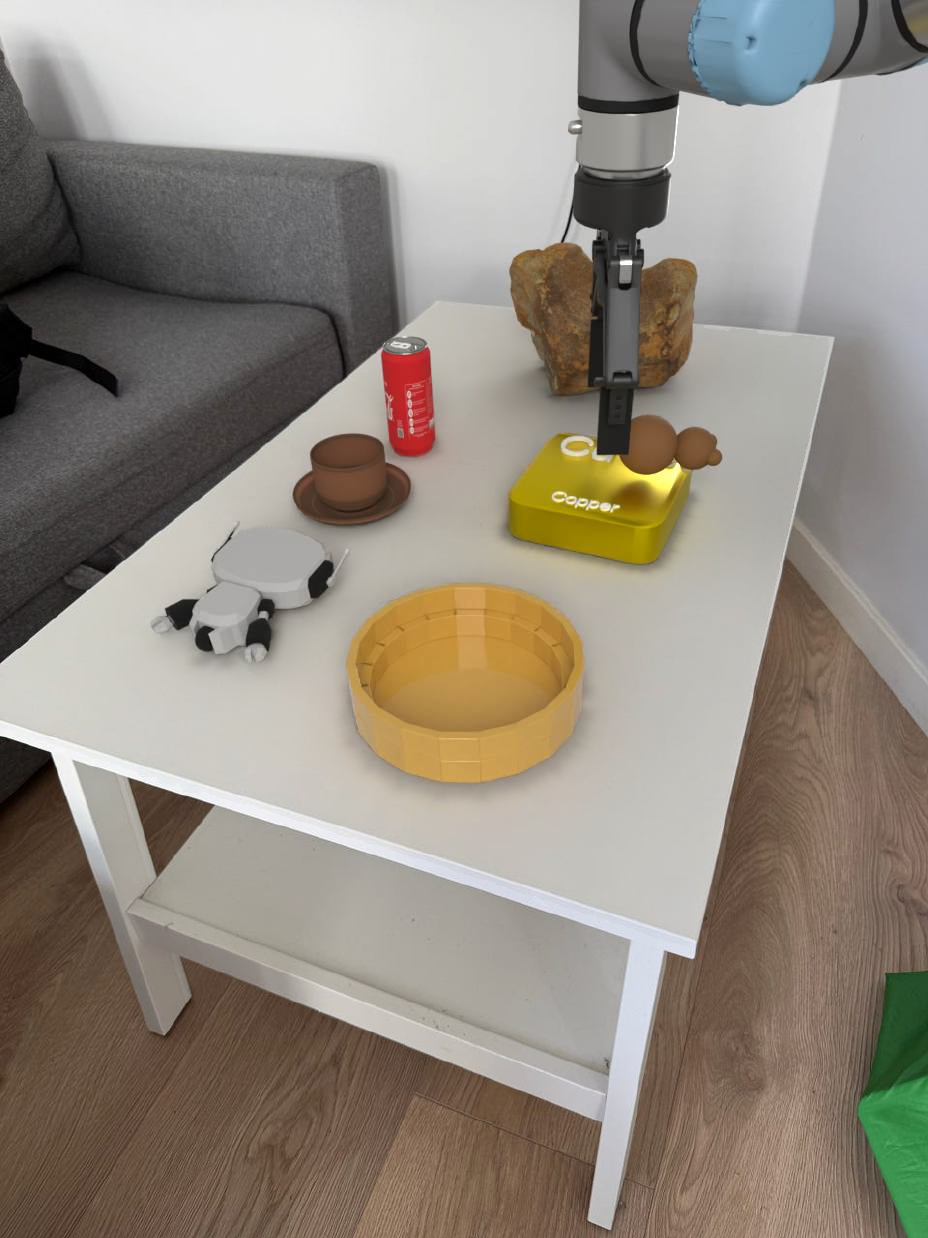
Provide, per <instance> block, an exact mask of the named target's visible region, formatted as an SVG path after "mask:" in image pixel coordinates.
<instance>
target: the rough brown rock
mask: <svg viewBox="0 0 928 1238" xmlns="http://www.w3.org/2000/svg"><path fill="white" fill-rule="evenodd" d="M592 263H593V261H592V258H590V257H589V256H588V255H587V254H586V253H585V251H584V249H583V248H582V246H580V245H579V244H577V243H573V242H568V241H567V242H566V241H565V242H555V243H553V244H552V245H548V246H546V247H545V248H544V249H541V248H535V249H527V250H524V251H522V252H519V253H518V254H516V255H515V256H514V257H513V258H512V261H511V263H510V266H509V268H508V271H509V272H508V273H509V277H510V288H509V289H510V290H509V291H510V297H511V300H512V303H513V309H514V311H515V315H516V320H517V322H519V323H520V325H521V327H523V328H525V329H526V330H528V331H529V332H530V337H531V342H532V344H533V345H534V348H535V350H536V353H537V356H538V357H539V359H540V360H541V361H543V363H544V368H545V369H544V370H545V372H546V373H547V377H548V381H549V386H550V389H551V392H552V393H553V395H555V396H557V397H563V396H571V395H580V394H585V393H587V392H590V391H594V390H597V389H600V387H595V388H588V365H589V345H590V325H591V319H597V317H592V314H591V305H592V303H591V300H590V294H591V288H592V278H593V266H592ZM698 276H699V275H698V270H697V267H696V265H695V264H694V263H693V262H691V261H690V260H688V259H684V258H675V257H667V258H664V259H661V260H660V261H659V262H657V263H656V264H653V265H651V266H649V267H646V268H642V274H641V296H640V327H639V363H638V378H639V384H638V387H637V388H655V387H661V386H663V385H664V384H665V383H667V382H668V380H669V379H670V378H672V377H673V376H675V375H677V373H678V372H679V371H680V370H681V369H682V367H683V366H685V364H686V362H687V361H688V359H689V357H690V353H691V349H692V345H693V342H694V341H693V339H694V337H693V336H694V334H693V333H694V329H693V328H694V318H695V310H694V303H695V298H696V287H697V282H698ZM617 372H622V371H617Z"/></svg>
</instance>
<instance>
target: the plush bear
mask: <svg viewBox="0 0 928 1238" xmlns="http://www.w3.org/2000/svg"><path fill="white" fill-rule="evenodd" d="M717 445H718V438H717V436H716V435H715V434H713V433H711V432H710V431H709V430H708V429H706V428H704V427H701V426H689V427H687V428H684V429H683V430H681V431H680V432H679V433H678V434H677V432H676V430H675V428H674V426H673V424H671V422H669V421H668V420H667V419H665V418H664V417H662V416H659V415H657V414H650V413H649V414H642V415H637V416H635V417H633V418H632V420H631V432H630V444H629V455H619V457H620V459H621V461H622V463H623V464H624V465H625V466H626V467H627V468H628V469H629V470H631V471H632V472H635V473H637V474H641V475H652V474H656V473H659V472H661V471H663V470H664V469H666V468H667V467H668V466H669V465H670V464H671V463H672V461H673V460H674V459H675V460H676V462H677V463H678V464H679V465H680V469H681V470H682V471H683V472H684V473H690V472H692V473H693V471H696V470H697V471H698V470H701V469H703V468H705V467H707V466H711V467H715V466H718V465H719V464H721V462H722V461H723V453H722V452H721V450H720V449H718V448H717Z"/></svg>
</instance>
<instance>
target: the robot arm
mask: <svg viewBox="0 0 928 1238" xmlns="http://www.w3.org/2000/svg"><path fill="white" fill-rule="evenodd" d="M578 1H579V2H578V4H579V5H578V9H579V11H578V48H577V49H578V50H577V51H578V52H577V53H578V54H577V55H578V56H577V91H576V92H577V110H576V113H577V116H578V117H579V119H574V120H570V121H569V123H568V125H567V132H568V133H569V134H570V135H572V136H573V135H574V136H575V135H577V136H576V139H575V162H576V163H577V164H578V165H579V166H581V167H579V168H578V169H577V171H576V172H575V173H574V174H573V175H574V176H573V201H572V217H573V218H574V220H575V222H577V223H578V224H580V225H581V226H583V227H585V228H589V229H592V230H596V238H595V239H592V242H591V261H592V262H593V263H592V266H593V278H592V288H591V294H590V300H591V303H592V305H591V314H592V317H597V319H591V325H590V345H589V365H588V388H595V387H600V388H599V400H598V402H599V403H598V416H597V417H598V418H597V420H598V421H597V433H596V434H597V435H596V438H597V450H596V451H597V455H629V444H630V432H631V420H632V419H633V418H632V417H633V408H634V407H633V406H634V396H635V389H638V388H639V387H638V384H639V378H638V363H639V327H640V296H641V274H642V270H643V269H644V267H645V266H644V265H645V248H642V242H641V238H637V234H638V233H639V232H640V231H642V230H644V229H651V228H654V227H656V226H659V225H660V224H662V223H663V222H664V221H665V220H666V218H667V217H668V213H669V204H670V193H671V183H672V173H671V172H670V170H669V168H667V166H668V165H670V164H672V162H673V161H674V157H675V150H676V148H675V147H676V138H677V129H678V118H679V111H680V110H679V109H680V92H682V93H688V94H692V95H696V96H700V97H704V98H707V99H708V98H709V99H713V100H716V101H718V102H724V103H725V104H726V105H729V106H733V107H742V106H746V105H747V106H748V105H749V106H756V107H775V106H779V105H784V104H786V103H787V102H790V101H791V100H792V99H793V98H794V97H795V96H796V95H797V94H798V93H800V92H801V90H803V89H804V88H806V87H808V86H813V85H818V84H822V83H826V82H831V81H832V82H833V81H838V80H846V79H851V78H859V77H866V76H867V77H868V76H873V75H874V76H879V77H880V76H881V77H882V76H888V75H893V74H896V73H897V74H898V73H901V72H904V71H908V70H911V69H913V68H916V67H919V66H922V65H925V64H927V63H928V0H578ZM617 371H622V372H617Z"/></svg>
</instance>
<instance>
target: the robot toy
mask: <svg viewBox="0 0 928 1238" xmlns="http://www.w3.org/2000/svg"><path fill="white" fill-rule="evenodd" d="M239 527H240V520H237V521H235V522H234V523H233V525H232V528H231V529H230V531H229V532H228V534H227V535H226V537H225V539H224V540H223V542H222V543H221V544H220V546H219V547H217V548H216V549H215V551H214V552H213V555H212V557H211V559H210V562H211V567H210V568H211V571H212V574H213V577H214V580H215V583H216V585H214V586H212V587H210V588H207V589H206V594H205V595H203V596H202V597H201V598H199V599H197V598H183V599H180V600H178V601H176V602H175V603H172V604H171V605H169V606H167V607H165V608H164V611H165V615H160V616H156V617H155V618H154V619H153V620H151V621H150V628H151V630H153V631H154V633H155V634H156V635H160V636H161V635H164V634H167V633H169V632H170V631H171V629H173V628H174V629H175V630H176V631H178V632H179V631H181V630H182V629H185V628H186V627H188V626H189V627H190V630H191V633H192V636H193V638H194V644H195V646H196V647H197V649H198V650H199V651H202V652H205V653H210V652H213V651H214V654H215V655H219V654H227V653H228V652H230V651H232V650H234V649H235V648H236V647H238V646H240V647H241V646H242V647H244V646H245V649H244V652H243V657H244V660H245V661H247V662H248V663H253V662H254V661H253V660H254V659H255V662H261V661H264V660H265V658H266V656H267V654H268V652H269V651H270V647H271V642H272V637H273V629H272V627H271V626H270V623H269V621H268V620H270V619H273V618H274V615H275V610H276V609H278V610H279V609H280V610H294V609H297V608H300V607H303V606H307V605H310V604H311V603H312V602H313V601H314V599H319V598H320V596H322V595H323V594H324V593H325V592H326V591H327V590H328V588H329V587H330V588H333V586H334V584H335V583H336V582H335V579H336V577H337V576H338V574H339V572H340V570H341V568H342V567H343V565H344V563H345V561H346V559H347V558H348V557H349V556H350V554H351V547H348V548H346V549H345V551H344V553H343V555H342V558H341V560H340V561H339V563H338V565H336V566H337V567H336V568H335V565H334V562H333V559H332V555H331V550H330V549H329V548H328V547H327V545H326V544H324V543H323V542H322V541H320V540H318V539H316V538H314V537H312V536H309V535H306V534H303V533H301V532H299V531H295V530H292V529H285V528H277V527H276V528H275V527H251V528H248V529H245V530H241V531H237V532H236V533H235V531H236V530H238V528H239ZM234 533H235V534H234ZM233 534H234V535H233Z"/></svg>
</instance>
